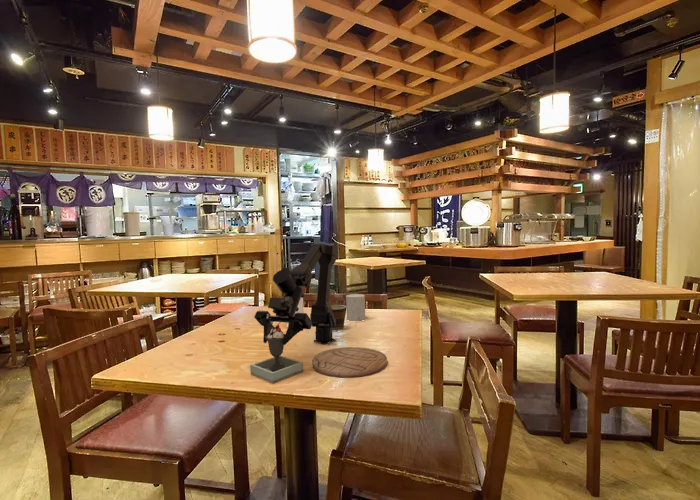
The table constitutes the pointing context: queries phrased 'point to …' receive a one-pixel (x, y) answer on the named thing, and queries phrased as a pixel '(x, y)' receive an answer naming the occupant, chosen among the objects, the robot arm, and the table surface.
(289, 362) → the grey square tray
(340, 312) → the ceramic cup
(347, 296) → the grey stone cylinder
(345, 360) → the trivet
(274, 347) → the sundae
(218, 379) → the table surface
